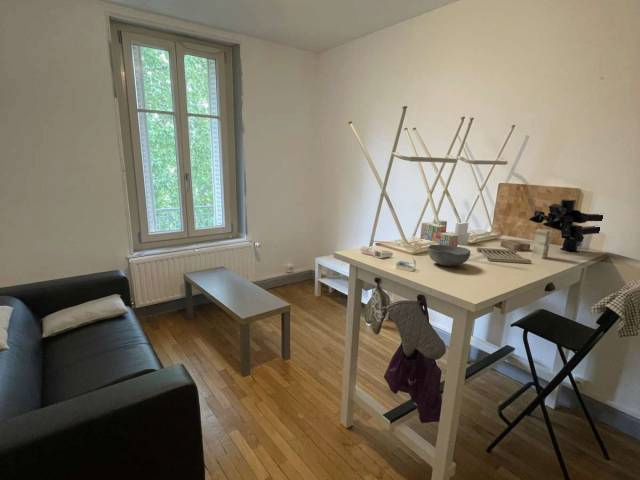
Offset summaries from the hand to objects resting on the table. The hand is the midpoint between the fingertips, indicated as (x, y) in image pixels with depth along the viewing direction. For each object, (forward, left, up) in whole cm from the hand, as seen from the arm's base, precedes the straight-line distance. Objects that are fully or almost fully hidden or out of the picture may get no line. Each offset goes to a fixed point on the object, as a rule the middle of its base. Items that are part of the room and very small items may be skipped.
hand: (536, 221), depth 179 cm
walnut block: (+5, -6, -17) cm, 19 cm away
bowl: (+62, +20, -17) cm, 67 cm away
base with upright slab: (+30, -20, -17) cm, 40 cm away
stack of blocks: (+50, -10, -17) cm, 53 cm away
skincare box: (+40, -26, -17) cm, 50 cm away
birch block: (+5, +11, -16) cm, 20 cm away
